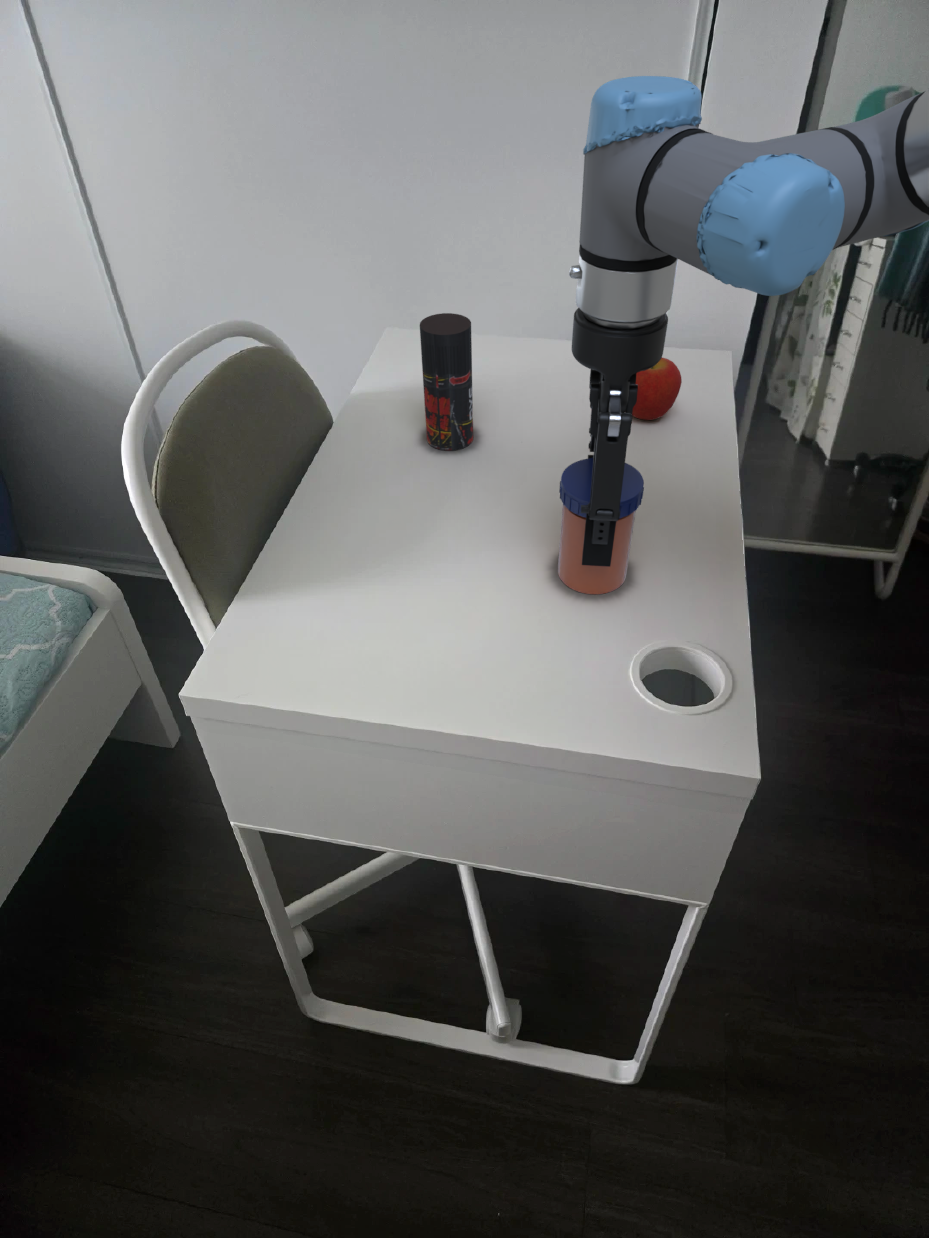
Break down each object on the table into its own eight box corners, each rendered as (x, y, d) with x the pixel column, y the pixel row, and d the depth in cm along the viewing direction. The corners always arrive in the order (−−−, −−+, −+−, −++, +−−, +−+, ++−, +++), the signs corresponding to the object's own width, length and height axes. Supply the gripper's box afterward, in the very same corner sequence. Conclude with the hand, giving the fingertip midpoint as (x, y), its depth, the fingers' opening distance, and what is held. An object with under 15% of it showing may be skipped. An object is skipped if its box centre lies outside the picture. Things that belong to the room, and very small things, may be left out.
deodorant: (425, 428, 105) (418, 314, 95) (471, 425, 106) (468, 311, 95) (428, 452, 101) (420, 336, 91) (475, 449, 101) (473, 333, 91)
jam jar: (615, 547, 86) (627, 462, 79) (634, 590, 81) (648, 504, 74) (551, 554, 86) (557, 469, 79) (566, 598, 81) (573, 511, 74)
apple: (667, 398, 110) (676, 343, 104) (682, 428, 104) (692, 371, 99) (610, 401, 109) (616, 346, 104) (622, 431, 104) (629, 374, 98)
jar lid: (574, 526, 74) (575, 509, 72) (549, 480, 79) (550, 463, 78) (654, 513, 75) (657, 496, 74) (624, 468, 80) (626, 452, 79)
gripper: (576, 261, 72) (561, 477, 88) (571, 367, 58) (554, 603, 73) (661, 263, 72) (631, 480, 87) (678, 370, 57) (638, 608, 73)
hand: (596, 536), depth 80 cm, fingers closed on jar lid, 8 cm apart
